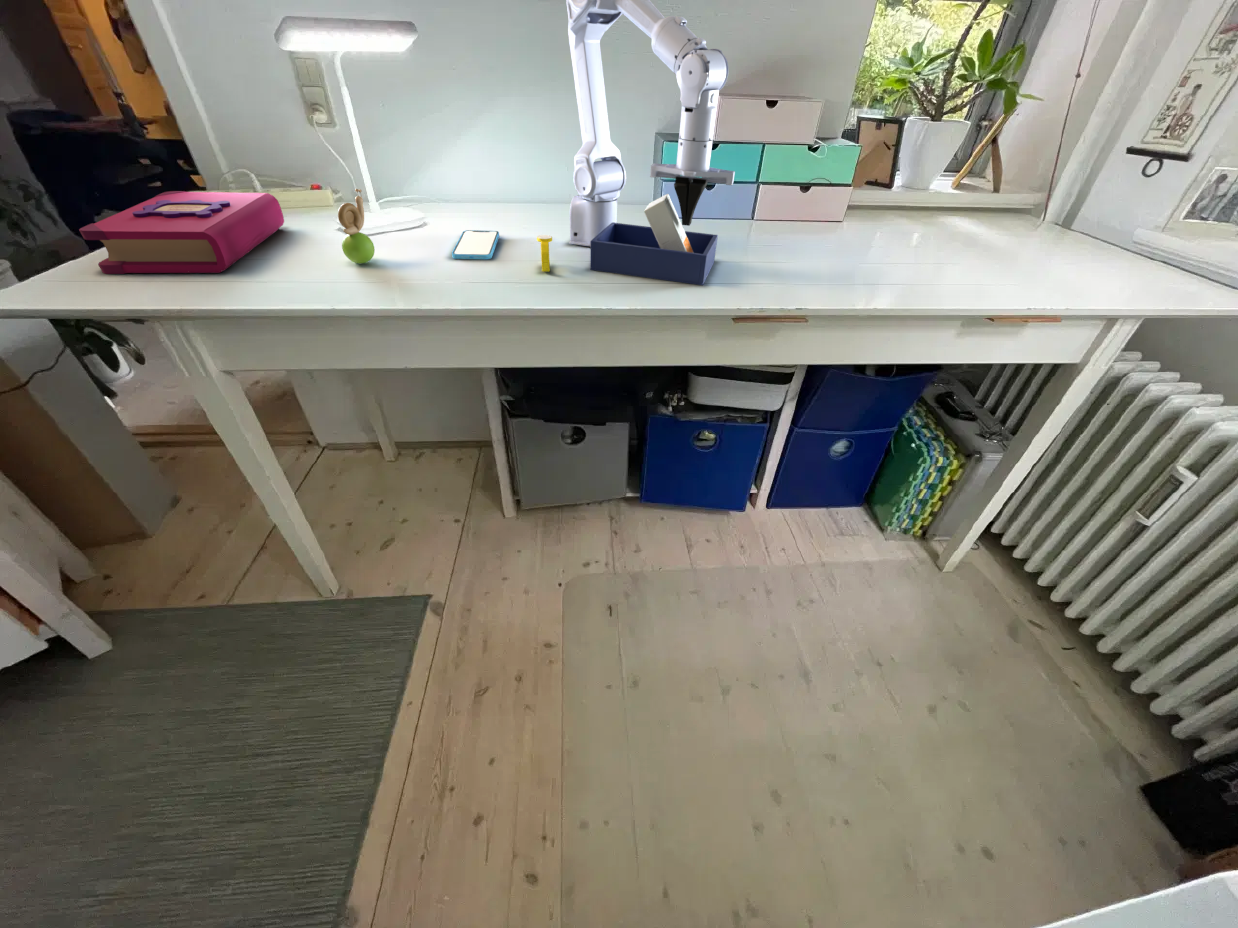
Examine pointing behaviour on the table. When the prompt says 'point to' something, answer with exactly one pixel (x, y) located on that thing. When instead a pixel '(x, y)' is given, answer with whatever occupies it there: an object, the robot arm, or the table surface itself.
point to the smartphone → (476, 245)
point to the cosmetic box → (667, 225)
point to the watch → (545, 251)
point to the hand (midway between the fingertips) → (686, 224)
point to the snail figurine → (355, 232)
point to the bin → (651, 254)
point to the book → (185, 232)
